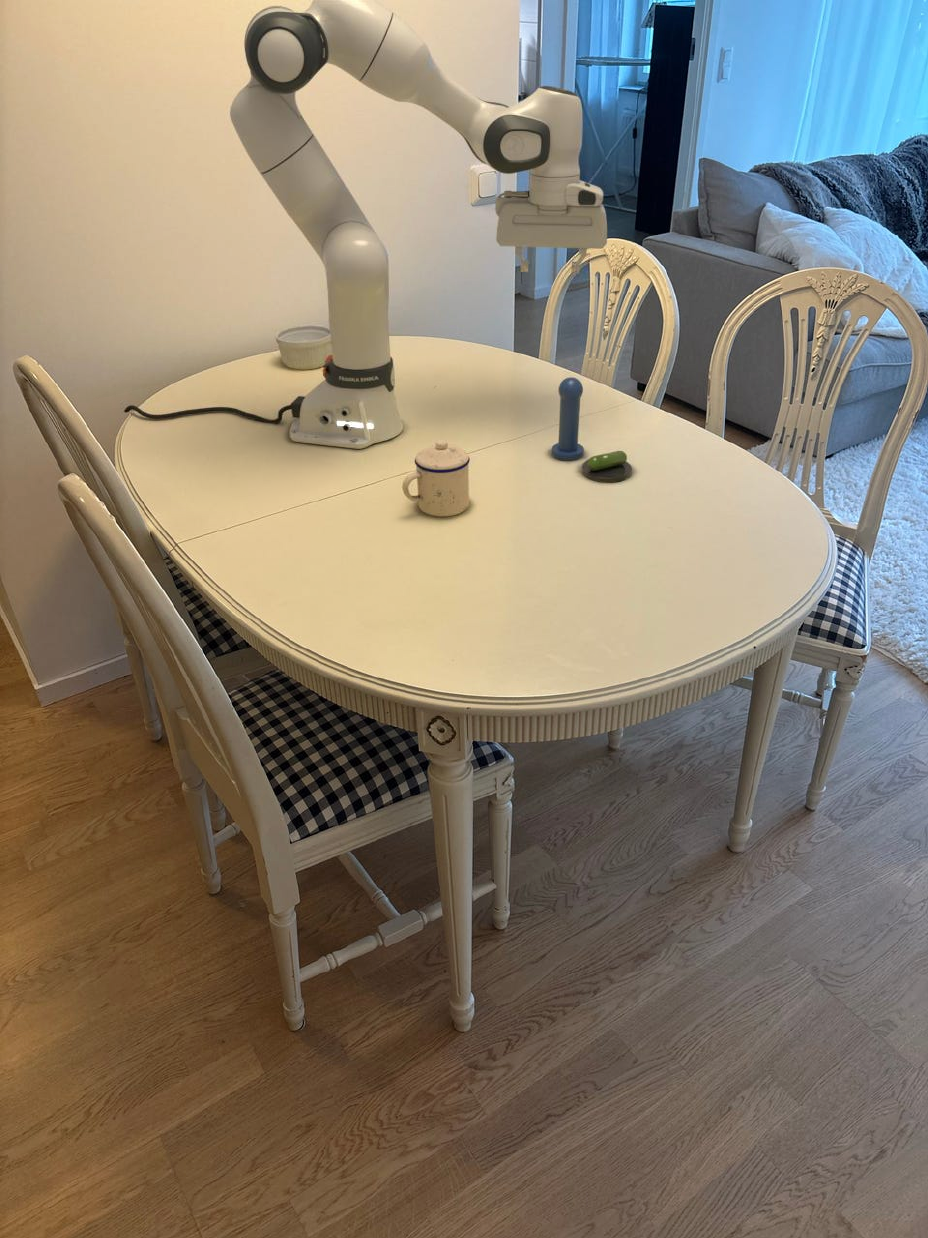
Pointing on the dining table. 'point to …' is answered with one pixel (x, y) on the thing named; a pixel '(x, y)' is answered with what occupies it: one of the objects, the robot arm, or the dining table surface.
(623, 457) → the pickle
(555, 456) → the blue handle
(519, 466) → the dining table surface
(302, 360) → the ramekin
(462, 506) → the teacup with lid
